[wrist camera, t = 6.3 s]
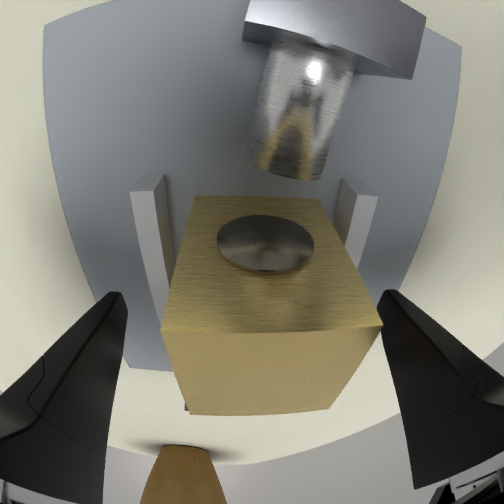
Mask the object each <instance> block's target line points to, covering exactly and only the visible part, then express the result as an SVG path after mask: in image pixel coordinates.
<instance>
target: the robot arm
mask: <svg viewBox="0 0 504 504" xmlns="http://www.w3.org/2000/svg"><path fill="white" fill-rule="evenodd" d="M376 310H377V312H378V314H379V316H380V318H381V321H382V323H383V327H382V329H381V336H382V341H383V345H384V350H385V353H386V357H387V360H388V364H389V367H390V371H391V375H392V378H393V382H394V386H395V390H396V394H397V398H398V402H399V407H400V411H401V416H402V420H403V425H404V430H405V435H406V440H407V446H408V452H409V458H410V465H411V471H412V478H413V486H414V489H419V488H422V487H425V486H428V485H431V484H433V483H436V482H439V481H442V480H444V479H447V478H449V482H447V483H445V484H444V485H442V486H440V487H438V488H437V489H436V491H435V493H434V495H433V497H432V499H431V501H430V503H429V504H504V377H503V376H502V375H500V374H499V373H498V372H497V371H495V370H494V369H493V368H492V367H490V366H489V365H488V364H486V363H485V362H484V361H483V360H481V359H480V358H479V357H477V356H476V355H475V354H474V353H473V352H472V351H470V350H469V349H468V348H467V347H466V346H465V345H463V344H462V343H461V342H460V341H459V340H458V339H456V338H455V337H454V336H453V335H452V334H450V333H449V332H448V331H447V330H446V329H444V328H443V327H442V326H441V325H440V324H438V323H437V322H436V321H435V320H434V319H432V318H431V317H430V316H429V315H427V314H426V313H425V312H424V311H422V310H421V309H420V308H419V307H417V306H416V305H415V304H414V303H412V302H411V301H410V300H409V299H407V298H406V297H405V296H403V295H402V294H401V293H400V292H398V291H397V290H395V289H386V290H384V291H383V293H382V296H381V298H380V300H379V302H378V304H377V309H376ZM127 319H128V308H127V305H126V303H125V300H124V297H123V294H122V293H121V292H119V291H110V292H108V293H107V294H106V295H105V296H104V297H103V298H101V299H100V300H99V301H98V302H97V303H96V304H95V305H94V306H93V307H92V308H91V309H89V310H88V311H87V312H86V313H85V314H84V315H83V316H82V317H81V318H80V319H79V320H78V321H77V322H76V323H75V324H74V325H72V326H71V327H70V328H69V329H68V330H67V331H66V332H65V333H64V334H63V335H62V336H61V337H60V338H59V339H58V340H57V341H56V342H55V343H54V344H53V345H52V346H51V347H50V348H49V349H48V350H47V351H46V352H45V353H44V356H43V355H42V356H41V357H40V358H39V359H38V360H37V361H36V362H35V363H34V364H33V365H32V366H31V367H30V368H29V369H28V370H27V371H26V372H25V373H24V374H23V375H22V376H21V377H20V378H19V379H18V380H17V381H16V382H14V383H13V384H12V385H11V386H10V387H9V388H8V389H7V390H6V391H5V392H3V394H1V395H0V504H102V502H103V483H104V470H105V457H106V449H107V440H108V433H109V426H110V419H111V413H112V406H113V401H114V395H115V390H116V385H117V379H118V375H119V370H120V365H121V361H122V356H123V349H124V341H125V333H126V326H127Z"/></svg>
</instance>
